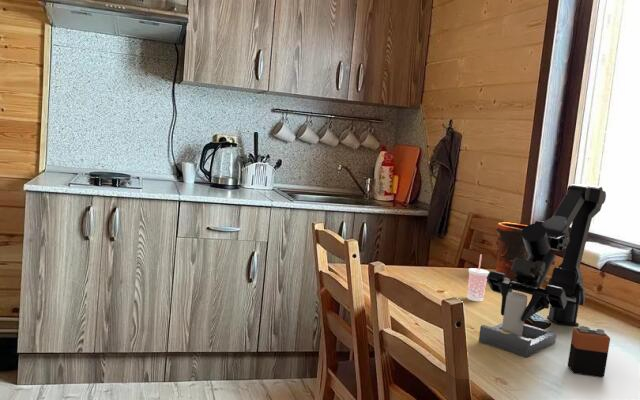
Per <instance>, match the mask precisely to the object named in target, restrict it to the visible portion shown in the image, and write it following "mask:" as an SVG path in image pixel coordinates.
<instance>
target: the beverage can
mask: <svg viewBox="0 0 640 400" xmlns="http://www.w3.org/2000/svg"><path fill="white" fill-rule="evenodd" d="M527 306H528V296H527V294H526V293H525V294H524V293H523V292H518V291H512V292H508V295H507V297H506V303H505V310H504V315H503V316H502V317H503V319H502V323H501V324H502V330H507V331H509V332H511V333H512V334H515V335H518V336H521V337H523V335H522V331H523V325H524V324H525V321H524V322H523V321H522V320H521V318H522V315H523V313H524V311H525V309H526V307H527Z"/></svg>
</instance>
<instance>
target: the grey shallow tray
mask: <svg viewBox="0 0 640 400" xmlns="http://www.w3.org/2000/svg"><path fill="white" fill-rule="evenodd" d="M479 329H480V330H479V334H478V336H479V337H478V342H479V343H481V342H482V343H481V344H484V345H486V346H489V347H494V348H497V349H498V350H502V351H505V352H508V353H510V354H514V355H517V356H520V357H523V358H528V357H530V356H532V355H534V354H536V353H538V352H541V351H542V350H543V349H546V348H548V347H549V346H552V345H553V344H555V343H556V340H557V332H554V331H550V330H547V329H543V328H540V327H537V326H534V325H530V324H526V323H524V325H523V331H522V337H521V336H518V335H515V334H512V333H511V332H509V331H507V330H502V323H500V324H499V323H498V324H497V325H494V326H492V327H491V326H489V325H485V324H481V325H480V328H479ZM524 336H527V338H526V337H524ZM528 337H529V338H528Z"/></svg>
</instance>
